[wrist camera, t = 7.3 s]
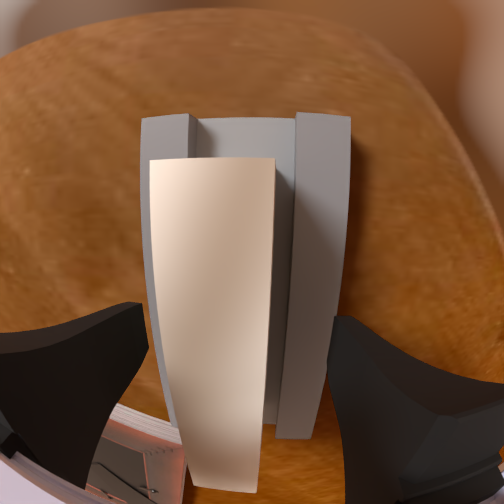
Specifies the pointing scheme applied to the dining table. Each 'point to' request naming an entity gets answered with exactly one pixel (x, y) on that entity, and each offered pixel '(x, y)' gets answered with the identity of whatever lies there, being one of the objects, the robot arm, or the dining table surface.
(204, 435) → the frame
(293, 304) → the grooved channel
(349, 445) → the robot arm
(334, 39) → the dining table surface
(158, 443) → the picture frame
